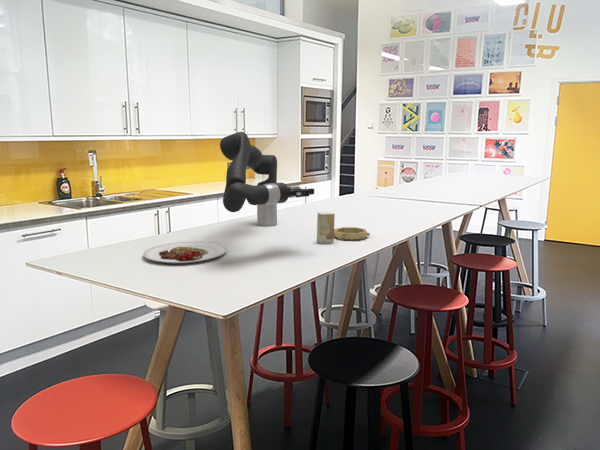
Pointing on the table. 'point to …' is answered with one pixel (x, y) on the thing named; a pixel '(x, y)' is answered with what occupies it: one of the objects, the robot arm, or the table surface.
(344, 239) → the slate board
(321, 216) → the skincare box
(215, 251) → the plated food
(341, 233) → the brass collar
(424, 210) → the table surface
